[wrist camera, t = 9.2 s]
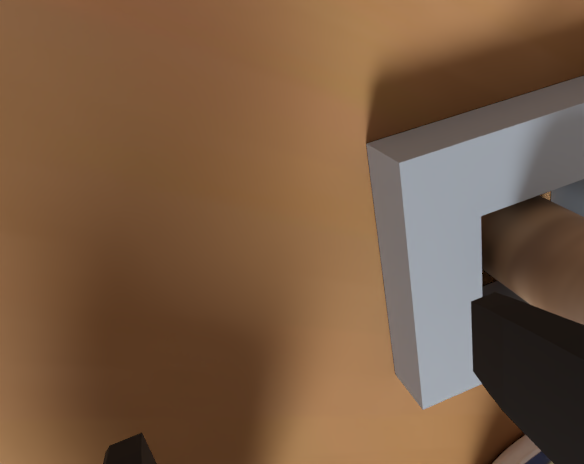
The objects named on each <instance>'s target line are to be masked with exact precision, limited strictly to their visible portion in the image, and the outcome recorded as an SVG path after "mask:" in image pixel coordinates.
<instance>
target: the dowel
mask: <svg viewBox="0 0 584 464" xmlns="http://www.w3.org/2000/svg"><path fill="white" fill-rule="evenodd" d="M481 241H482V269H483V270H484V271H485V272H487V273H488V274H490V275H491V276H492V277H494V278H495V279H496V280H498V281H499V282H500V283H502V284H503V285H504V286H506V287H507V288H509V289H510V290H511V291H513V292H514V293H515V294H517V295H518V296H519V297H521V298H522V299H523V300H525V301H526V302H528V303H529V304H530V305H533V306H535V307H538V308H540V309H543V310H546V311H548V312H551V313H553V314H556V315H559V316H561V317H564V318H567V319H569V320H572V321H575V322H577V323H580V324H583V325H584V217H583V216H581V215H579V214H577V213H574V212H572V211H570V210H568V209H566V208H564V207H562V206H560V205H558V204H556V203H554V202H552V201H549V200H547V199H545V198H543V197H541V196H539V195H538V196H535V197H533V198H530V199H527V200H524V201H522V202H519V203H516V204H513V205H511V206H508V207H505V208H502V209H500V210H497V211H494V212H491V213H489V214H486V215H483V216H481Z"/></svg>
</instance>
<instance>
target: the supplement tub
mask: <svg viewBox="0 0 584 464" xmlns="http://www.w3.org/2000/svg"><path fill="white" fill-rule="evenodd" d="M492 464H554V463H553V462H552V461H551V460H550V459H549V458H548V457H547V456H546V455H545V454H544V453H543V452H542V451H541V450H540V449H539V448H538V447H537V446H536V445H535V444H534V443H533V442H532V441H531V440H530V439H529V438H528V437H527V436H526V435H524V436H523V437H521V438H520V439H519V440H517V441H516V442H515V443H513V444H512V445H511V446H510V447H508V448H507V449H506V450H505V451H504V452H503V453H502V454H501V455H500V456H499V457H498V458H497V459H496V460H495V461H494V462H493V463H492Z"/></svg>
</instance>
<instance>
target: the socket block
mask: <svg viewBox="0 0 584 464" xmlns="http://www.w3.org/2000/svg"><path fill="white" fill-rule="evenodd" d="M366 146H367V154H368V162H369V169H370V177H371V185H372V193H373V201H374V209H375V217H376V225H377V233H378V241H379V249H380V257H381V265H382V272H383V280H384V288H385V296H386V304H387V312H388V320H389V328H390V336H391V344H392V352H393V360H394V367H395V374H396V376H397V377H398V378H399V380H400V381H401V382H402V383H403V385H404V386H405V387H406V389H407V390H408V391H409V392H410V394H411V395H412V396H413V398H414V399H415V400H416V401H417V403H418V404H419V405H420V407H421V408H422V409H423V410H424V409H426V408H428V407H430V406H433V405H435V404H437V403H440V402H442V401H444V400H446V399H449V398H451V397H453V396H455V395H458V394H460V393H462V392H465V391H467V390H469V389H471V388H474V387H476V386H478V385H481V384H482V383H481V382H480V380H479V379H478V378H477V376H476V375H475V373H474V372H473V355H472V322H471V301H473V300H476V299H478V298H481V297H483V296H486V295H489V294H491V293H494V292H497V293H500V294H503V295H506V296H508V297H511V298H514V299H517V300H519V301H522V302H525V303H527V304H529V303H528V302H526V301H525V300H523V299H522V298H521V297H519V296H518V295H517V294H515V293H514V292H513V291H511V290H510V289H509V288H507V287H506V286H504V285H503V284H502V283H500V282H499V281H495V282H493V283H490V284H488V285H485V286H483V287H482V241H481V216H483V215H486V214H489V213H491V212H494V211H497V210H500V209H502V208H505V207H508V206H511V205H513V204H516V203H519V202H522V201H524V200H527V199H530V198H533V197H535V196H538V195H541V194H544V193H547V192H549V191H551V201H552V202H554V203H556V204H558V205H560V206H562V207H564V208H566V209H568V210H570V211H572V212H574V213H577V214H579V215H581V216H583V217H584V76H581V77H578V78H574V79H571V80H568V81H565V82H562V83H558V84H555V85H552V86H549V87H546V88H543V89H539V90H536V91H533V92H530V93H527V94H523V95H520V96H517V97H514V98H511V99H507V100H504V101H501V102H498V103H495V104H491V105H488V106H485V107H482V108H479V109H475V110H472V111H469V112H466V113H463V114H459V115H456V116H453V117H450V118H447V119H443V120H440V121H437V122H434V123H431V124H427V125H424V126H421V127H418V128H415V129H411V130H408V131H405V132H402V133H399V134H395V135H392V136H389V137H386V138H383V139H379V140H376V141H373V142H370V143H367V144H366Z"/></svg>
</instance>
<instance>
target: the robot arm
mask: <svg viewBox="0 0 584 464" xmlns="http://www.w3.org/2000/svg"><path fill="white" fill-rule="evenodd" d="M471 322H472V355H473V372H474V373H475V375H476V376H477V378H478V379H479V380H480V382H481V383H482V384H483V386H484V387H485V388H486V390H487V391H488V393H489V394H490V395H491V396H492V398H493V399H494V400H495V402H496V403H497V404H498V405H499V407H500V408H501V409H502V410H503V412H504V413H505V414H506V415H507V416H508V417H509V418H510V419H511V420H512V421H513V422H514V423H515V424H516V425H517V426H518V427H519V428H520V429H521V430H522V432H523V433H524V434H525V435H526V436H527V437H528V438H529V439H530V440H531V441H532V442H533V443H534V444H535V445H536V446H537V447H538V448H539V449H540V450H541V451H542V452H543V453H544V454H545V455H546V456H547V457H548V458H549V459H550V460H551V461H552V462H553V463H554V464H584V325H583V324H580V323H577V322H575V321H572V320H569V319H567V318H564V317H561V316H559V315H556V314H553V313H551V312H548V311H546V310H543V309H540V308H538V307H535V306H533V305H530V304H527V303H525V302H522V301H519V300H517V299H514V298H511V297H508V296H506V295H503V294H500V293H497V292H494V293H491V294H489V295H486V296H483V297H481V298H478V299H476V300H473V301H471ZM103 464H156V462H155V459H154V457H153V455H152V453H151V451H150V449H149V447H148V445H147V443H146V440H145V438H144V436H143V434H142V433H140V434H138V435H135V436H133V437H130V438H128V439H125V440H123V441H120V442H118V443H115V444H113V445H110V446H109V448H108V449H107V451H106V453H105V458H104V462H103Z"/></svg>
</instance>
